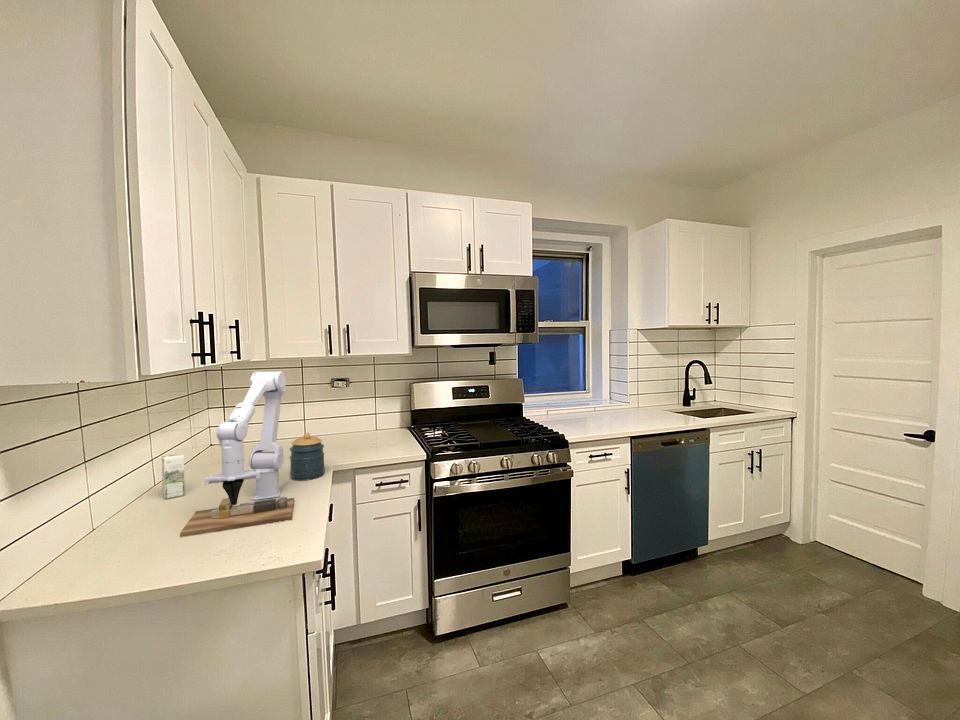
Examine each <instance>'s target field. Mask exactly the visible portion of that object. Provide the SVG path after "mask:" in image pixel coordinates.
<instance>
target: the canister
mask: <svg viewBox="0 0 960 720" xmlns="http://www.w3.org/2000/svg"><path fill="white" fill-rule="evenodd" d="M322 441H323V439H321V438H319V437H318V436H314V435H313V436H311V434H310V433H309V432H305V433H303V436H302V437H298V438H295V440H293V441H292V442H291V445H292V446H291V447H290V448H289V451H290V456H289V460H290V461H289V462H290V472H289V476H290V479H291V480H293V479H295V481H308V480H307V479H311V480H314V479H313V478H315V479H317V478H316V477H318V478H320V477H319V476H321V477H322V476H324V475H325V470H326V469H325V452H324V449H323V448H325V445H324V443H322ZM323 474H324V475H323Z"/></svg>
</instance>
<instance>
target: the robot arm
mask: <svg viewBox="0 0 960 720" xmlns="http://www.w3.org/2000/svg"><path fill="white" fill-rule="evenodd" d="M249 382H250V383H249V384H250V386H249V389H248V391H247V393H246V395H245V397H244V399H243V401H242V402H238V403H237V404H236V405H235V407H234V408H233V410H232V412H231V414H230V415H229V417H228V418H227V419H226V421H223V422H222V423H220V424H219V426H218V427H217V429H216V432H215V435H216V438H217V440H218V442H219V443H218V445H219V447H221V471H222V473H221V474H215V475H210V476H209V475H208V476H206V477H205V478H204V485H205V486H206V485H209V486H210V484H212V485H213V484H219V483H222V488H223V490H224V491H225V493H226V495H227V496H228V498H229V499H230V502H231V506H232V505H233V506H237V504H238V499H239V494H240V492H241V491H240V490H241V488H242V486H243V484H244V482H245V480H252V479H255V494H254V497H253V501H260V500H268V499H275V498H280V496H281V491H282V487H281V486H280V481H279V480H280V479H279V473H280V472H279V470H280V469H281V468H282V467H283V464H284V462H285V456H284V448H283V447H282V446H281V445H280V444H279V443H277V438H278V428H279V421H280V420H279V419H280V411H281V404H282V396H283V395H285V391H286V384H287V379H286V376H285V373H284V372H283V371H282V370H279V371H256V370H255V371H254V372H253V373H252V374H251V376H250V379H249ZM262 396H263V397H264V409H263V417H262V424H261V430H260V431H261V432H260V441H259V443H258V444H256V445H255V446H254V447H253V448H252V450H251V455H250V457H249V459H248V465H249V467H250V469H251V470H252V471H251V470H250V471H245V462H244V461H245V458H244V457H245V455H244V439H245V438H246V436H247V435H248V429H249V423H250V422H251V420H252V419H253V416H254V414H255V412H256V408H255V406H256V404H257V403H258V401H260V399H261V398H262Z"/></svg>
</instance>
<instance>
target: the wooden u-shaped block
mask: <svg viewBox="0 0 960 720" xmlns="http://www.w3.org/2000/svg"><path fill="white" fill-rule="evenodd" d="M233 506H234V505H232V506H231V502H230V499H229V497H228V498H222V500H221V502H220V503H219V504H218V508H219V519H220V518H227V517H229V508H231V507H233Z"/></svg>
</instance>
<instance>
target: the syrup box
mask: <svg viewBox="0 0 960 720" xmlns="http://www.w3.org/2000/svg"><path fill="white" fill-rule="evenodd" d="M161 469H162V470H161V473H162V475H161V477H162V496H163V497H164V500H170V499H174V498H178V497H179V498H180V497H182V496H185V495H186V494H185V493H186V490H185V489H186V487H185V486H186V483H185V482H186V481H185V480H186V479H185V456H184V455H183V454H182V453H180V452H179V453H173V454H167V455H162V456H161Z"/></svg>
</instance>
